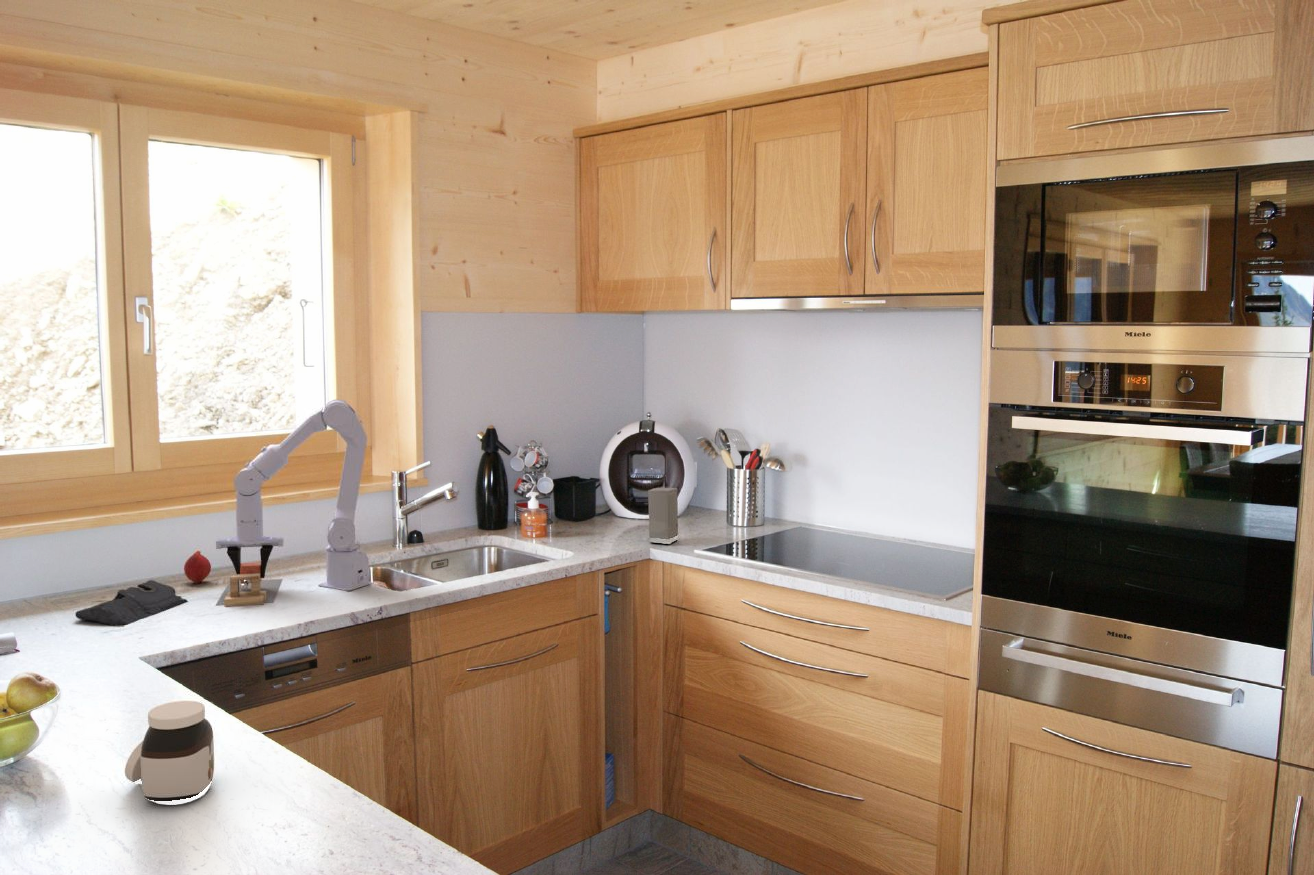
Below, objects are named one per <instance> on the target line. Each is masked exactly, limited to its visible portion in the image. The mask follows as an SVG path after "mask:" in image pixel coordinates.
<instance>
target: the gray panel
mask: <svg viewBox="0 0 1314 875" xmlns="http://www.w3.org/2000/svg"><path fill="white" fill-rule="evenodd" d="M282 581H283V578H277V579H276V578H274V579H272V578H271V579H262V581H261V582H260V591H266V599H265V601H264V604H273V603H274V602H275V599H276V597H277V594H278V592H279V589H280V586H281V585H282ZM241 584H242V583H240V580H239V592H251V583H249V584H248V586H247V589H246V590H245V591H242V590H240V585H241ZM228 593H230V581H229V582H228V583H227V585H226V587H225V588H224V591H223V592H222V594H221V595H220V597H219V598H218V600H217V602H216V604H215V606H224V599H225V597H226V596H227V594H228Z"/></svg>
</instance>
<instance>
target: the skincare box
mask: <svg viewBox="0 0 1314 875" xmlns="http://www.w3.org/2000/svg"><path fill="white" fill-rule="evenodd" d="M647 493H648V494H647V496H648V498H647V499H648V500H647V501H648V536H649V537H648V539H649V538H660V539H670V538H673V537H675V536H677V535H678V536H679V516H678V514H679V510H678V509H679V508H678V488H677V487H655V488H652V489H648V491H647Z"/></svg>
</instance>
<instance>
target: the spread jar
mask: <svg viewBox="0 0 1314 875" xmlns="http://www.w3.org/2000/svg"><path fill="white" fill-rule="evenodd" d="M205 708H206V707H205V704H203V702H200V701H195V700H179V701H178V700H176V701H169V702H166V703H163V704H160V705H158V706H155V707H153V708H151V709H150V710H149V711H148V713H147V719H148V720H147V722H148V726H149V727H148V728H147V730H146V732H145V735H144V738H143V740H142V741H141V742H140V743H139V744H138V745H136V747H135V748H134V749H133V751H132V752H131V753H130V755H129V757H128V758H127V761H126V764H125V767H124V775H125V777H126V779H127V780H129V781H130V782H131V783H133V782H135V781H137V780H139V779H141V781H142V785H141V790H142V794H143V797H144V799H146V798H147V799H149V800H154V801H172V800H180V799H186V798H191V797H193V796H196V795H198V794H199V793H200V792H202V791H203V790H204V789H205V788H206V787H207V786H208V785H209V784H210V782H211V781H212V782H213V777H214V771H215V745H214V742H215V740H214V731H213V726H212V724H211V723H210V722H209V720H208V719H207V718H206V713H205V712H206V709H205ZM147 799H146V800H147Z"/></svg>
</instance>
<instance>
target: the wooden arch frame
mask: <svg viewBox="0 0 1314 875" xmlns="http://www.w3.org/2000/svg"><path fill="white" fill-rule="evenodd" d="M240 580H251V592H239V581H240ZM229 582H230V593H228V594H227V596H226V597H225V599H224V605H223V606H224V607H236V606H238V607H239V606H252V605H253V606H257V605H264V604H265V603H264V601H265V599H266V591H260V573H258V574H236V573H235V574H230V576H229Z"/></svg>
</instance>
